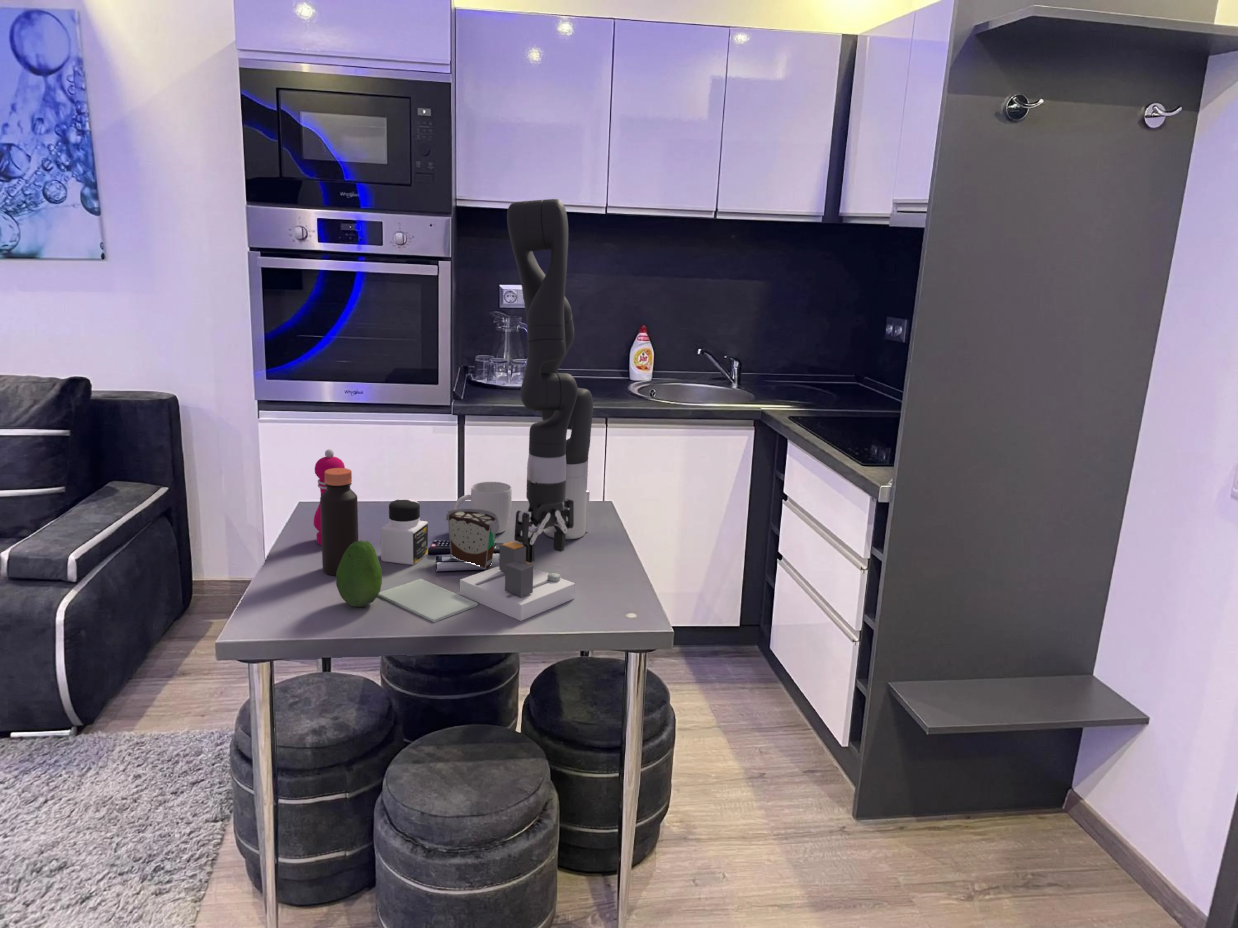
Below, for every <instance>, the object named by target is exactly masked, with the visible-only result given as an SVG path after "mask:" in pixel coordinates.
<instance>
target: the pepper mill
mask: <svg viewBox="0 0 1238 928" xmlns="http://www.w3.org/2000/svg"><path fill="white" fill-rule="evenodd" d="M334 454H335V453H334V450H333V449H326V450H325V451H324V456H322V457H321V458H320V459H318V460H317V461H316V463H315V465H314V474H315V476H316V477H317V478H318V480H317V487H318V488H319V491H320V496H321V495H322V494H323V493H324V492H325V491H326V490H327V486H326V485H325V474H324V472H325V471H326V470H328V469H332V468H346V466H345V463H344V461H343V460H342V459H341V458H339V457H337V456H335V455H334ZM313 516H314V517H313V526H314V528H315V529H316V531H317V533H316V543H317V544H318V545H320V546H322V536H321V509H320V502H319V504H318V506H317V508H316V511H315V513H314V515H313Z"/></svg>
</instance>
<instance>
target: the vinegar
mask: <svg viewBox="0 0 1238 928" xmlns="http://www.w3.org/2000/svg"><path fill="white" fill-rule="evenodd" d="M324 474H325V485H326V486H327V490H326V491H325V492H324V493H323V494H322V495H321V494H320V498H319V503H320V509H321V536H322V545H321V556H322V557H321V559H322V560H321V561H322V571H323V572H324V573H325V574H326V575H329V576H333V577H334V576H335V577H336V572H337V569H338V566H339V564H340V561H341V559H342V557H343V554H344V553H345V551H346V550H347V548H348V547H349V546H350V545H351V544H352V543H353V542H357V541H359V513H358V512H359V510H358V509H359V507H358V495H357V494H356V493H355V491H353V489H352V488H351V486H352V485H353V484H352V481H353V479H352V478H353V475H352V470H351V469H349V468H346V467H345V468H332V469H328V470H326V471H325V472H324Z"/></svg>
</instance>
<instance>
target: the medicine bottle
mask: <svg viewBox="0 0 1238 928" xmlns="http://www.w3.org/2000/svg"><path fill="white" fill-rule="evenodd" d="M420 512H421V504H420V503H419V502H418V501H416V500H414V499H410V498H399V499H395V500H393V501H391V502H390V503H389V504H388V523H387V524H385V525H384V526H382V527H381V528H380V551H381V552H380V553H381V556H380V557H381V561H382V562H387V563H394V564H401V565H410V566H414V565H415V564H417V563H418V562H420V561H421V559H423V558H424V557H425V556H427V555H428V553H429V524H428V523H429V522H428V521H426V520H425V521H424V520H421V515H420V514H421V513H420Z"/></svg>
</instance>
